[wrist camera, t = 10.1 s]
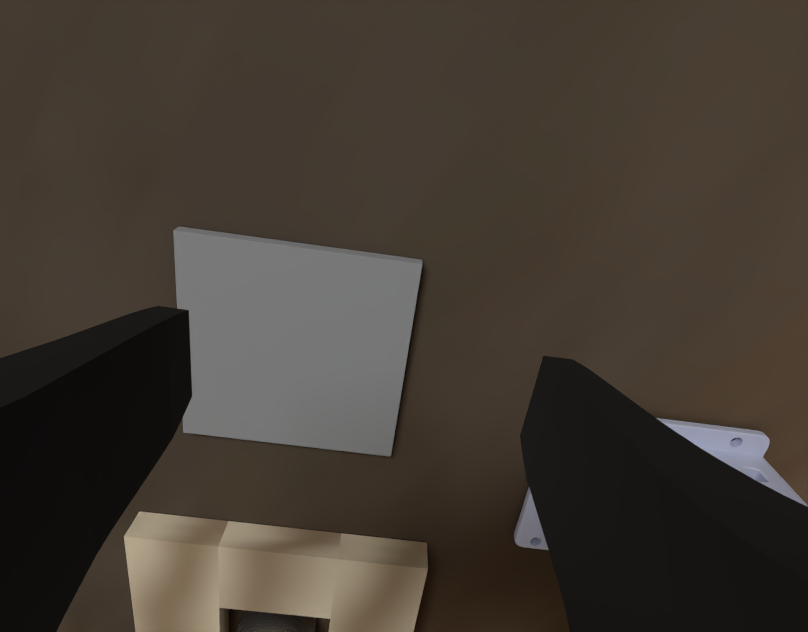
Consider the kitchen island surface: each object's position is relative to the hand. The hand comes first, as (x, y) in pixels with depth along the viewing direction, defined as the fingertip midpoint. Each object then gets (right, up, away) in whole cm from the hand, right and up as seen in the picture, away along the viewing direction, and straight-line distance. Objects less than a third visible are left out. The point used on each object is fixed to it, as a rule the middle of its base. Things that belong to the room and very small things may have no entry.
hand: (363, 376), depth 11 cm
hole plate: (-6, -15, +18) cm, 24 cm away
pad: (-4, 0, +10) cm, 11 cm away
